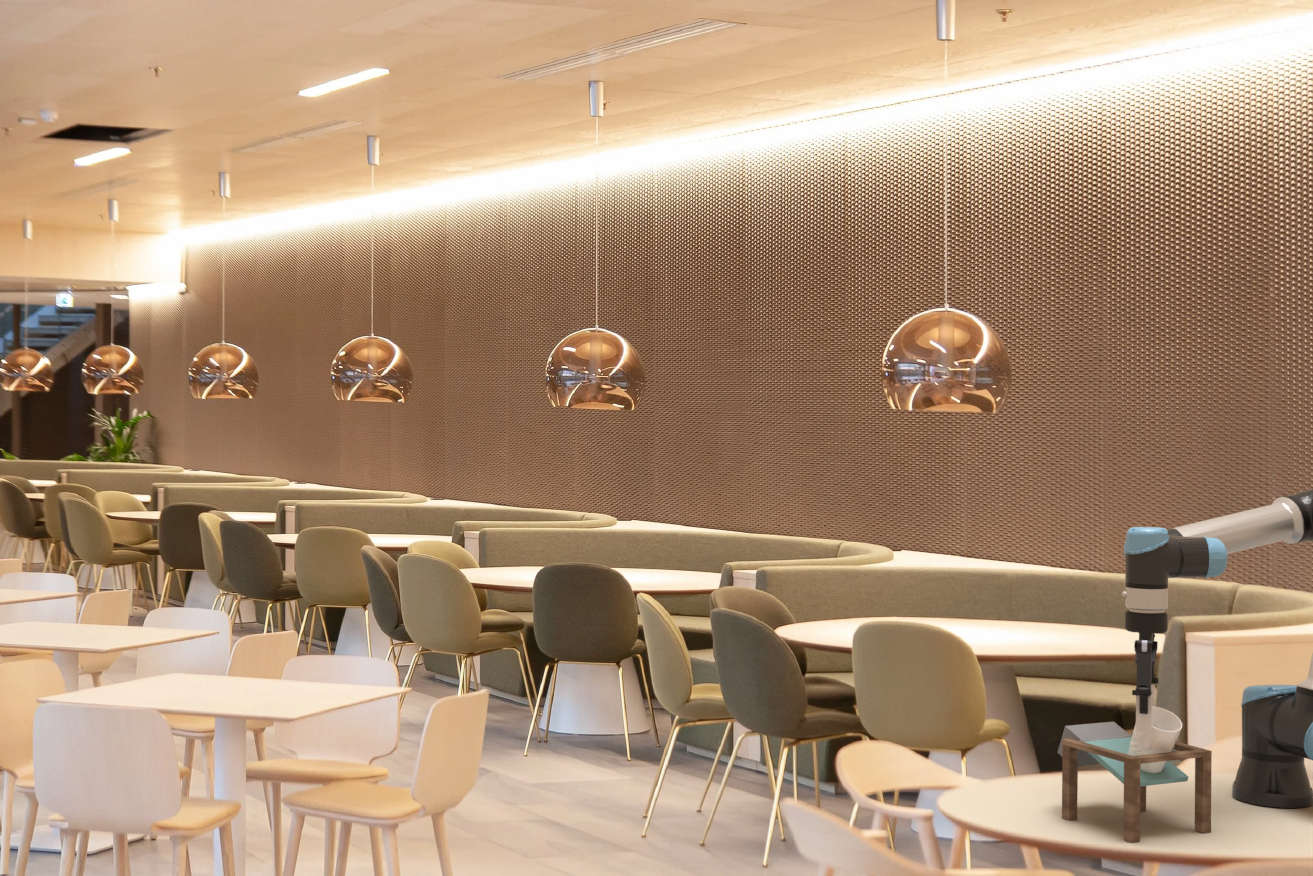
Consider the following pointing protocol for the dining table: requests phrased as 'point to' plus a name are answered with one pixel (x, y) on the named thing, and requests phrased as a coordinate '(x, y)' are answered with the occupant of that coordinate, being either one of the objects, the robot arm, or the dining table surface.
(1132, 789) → the frame
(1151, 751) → the white cup
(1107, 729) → the trapdoor
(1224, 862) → the dining table surface
